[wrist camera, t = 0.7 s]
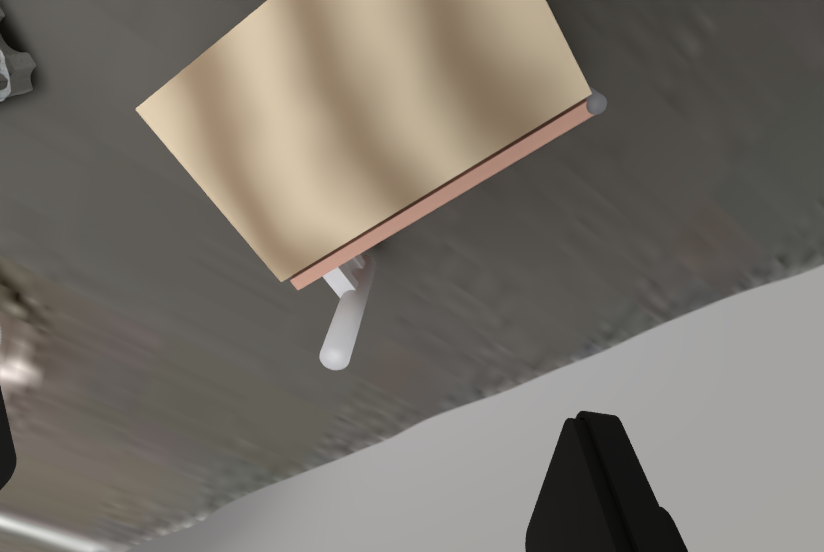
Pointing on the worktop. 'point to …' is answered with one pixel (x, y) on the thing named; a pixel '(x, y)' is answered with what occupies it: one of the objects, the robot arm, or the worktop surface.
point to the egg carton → (14, 69)
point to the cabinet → (356, 110)
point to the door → (356, 272)
